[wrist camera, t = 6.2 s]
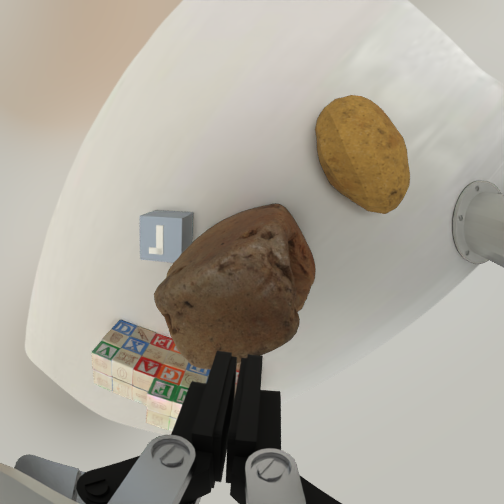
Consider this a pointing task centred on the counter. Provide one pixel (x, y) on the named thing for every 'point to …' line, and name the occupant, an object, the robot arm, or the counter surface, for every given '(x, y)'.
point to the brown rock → (238, 287)
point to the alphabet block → (165, 235)
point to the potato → (363, 153)
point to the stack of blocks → (146, 371)
